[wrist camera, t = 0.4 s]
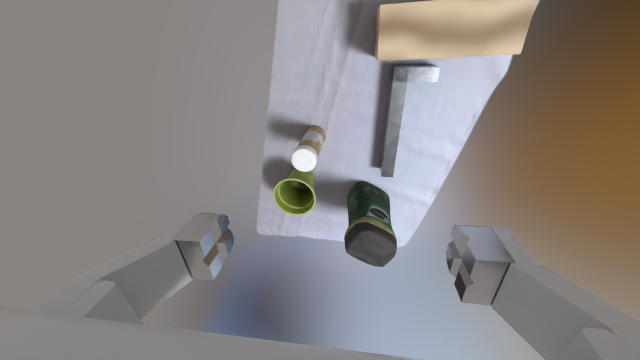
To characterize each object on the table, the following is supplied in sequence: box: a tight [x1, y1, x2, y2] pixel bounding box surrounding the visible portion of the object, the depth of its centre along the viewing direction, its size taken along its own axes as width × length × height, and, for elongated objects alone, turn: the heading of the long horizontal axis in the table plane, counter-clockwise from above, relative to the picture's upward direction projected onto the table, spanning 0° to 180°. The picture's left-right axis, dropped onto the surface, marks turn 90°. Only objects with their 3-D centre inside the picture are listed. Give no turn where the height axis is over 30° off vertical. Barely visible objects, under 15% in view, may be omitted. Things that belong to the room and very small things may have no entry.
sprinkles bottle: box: [291, 126, 325, 172], centre depth 49 cm, size 5×5×14 cm
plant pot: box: [273, 169, 316, 215], centre depth 57 cm, size 9×9×9 cm
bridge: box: [375, 0, 537, 61], centre depth 39 cm, size 7×20×10 cm, turn 93°
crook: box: [380, 65, 440, 177], centre depth 49 cm, size 21×7×4 cm, turn 1°
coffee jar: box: [344, 183, 397, 267], centre depth 53 cm, size 10×8×19 cm
